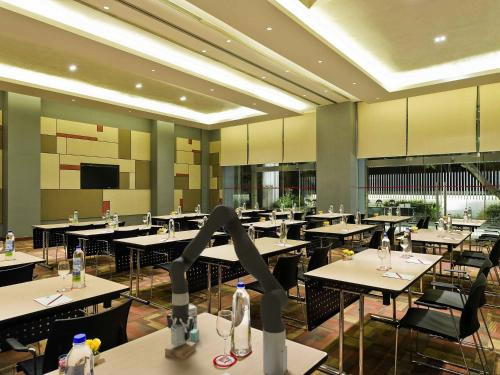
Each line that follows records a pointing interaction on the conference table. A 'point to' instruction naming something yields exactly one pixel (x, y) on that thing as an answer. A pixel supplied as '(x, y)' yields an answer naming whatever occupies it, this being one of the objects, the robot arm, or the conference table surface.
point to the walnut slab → (180, 350)
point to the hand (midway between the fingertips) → (180, 338)
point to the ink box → (193, 314)
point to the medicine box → (178, 335)
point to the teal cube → (194, 335)
